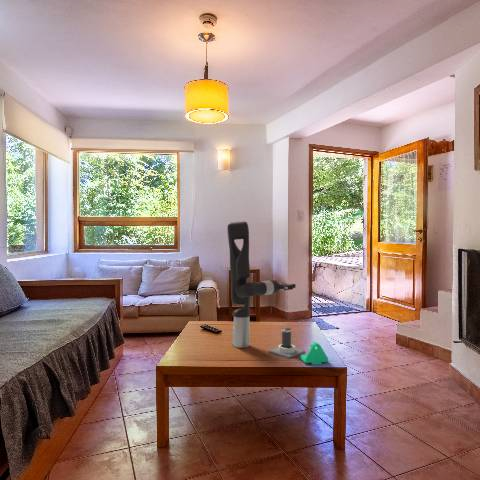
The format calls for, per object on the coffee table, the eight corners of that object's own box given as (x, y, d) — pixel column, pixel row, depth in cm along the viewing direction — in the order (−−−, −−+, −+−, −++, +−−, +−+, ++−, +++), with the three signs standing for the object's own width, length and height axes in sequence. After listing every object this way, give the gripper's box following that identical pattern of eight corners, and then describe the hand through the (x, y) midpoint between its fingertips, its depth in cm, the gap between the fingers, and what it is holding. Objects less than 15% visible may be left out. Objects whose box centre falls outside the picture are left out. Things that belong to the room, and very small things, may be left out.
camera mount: (322, 358, 197) (322, 339, 197) (328, 363, 190) (328, 343, 190) (300, 359, 195) (300, 340, 195) (305, 365, 188) (305, 344, 188)
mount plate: (268, 352, 207) (268, 346, 206) (284, 347, 216) (284, 341, 216) (288, 358, 197) (288, 351, 196) (304, 352, 206) (304, 346, 206)
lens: (279, 350, 207) (279, 328, 206) (286, 348, 210) (285, 327, 209) (287, 352, 203) (286, 330, 202) (293, 350, 206) (293, 328, 206)
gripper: (278, 281, 198) (299, 279, 208) (259, 279, 209) (280, 277, 219) (278, 296, 198) (298, 293, 208) (259, 292, 209) (280, 290, 219)
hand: (289, 285), depth 213 cm, fingers open, 8 cm apart
